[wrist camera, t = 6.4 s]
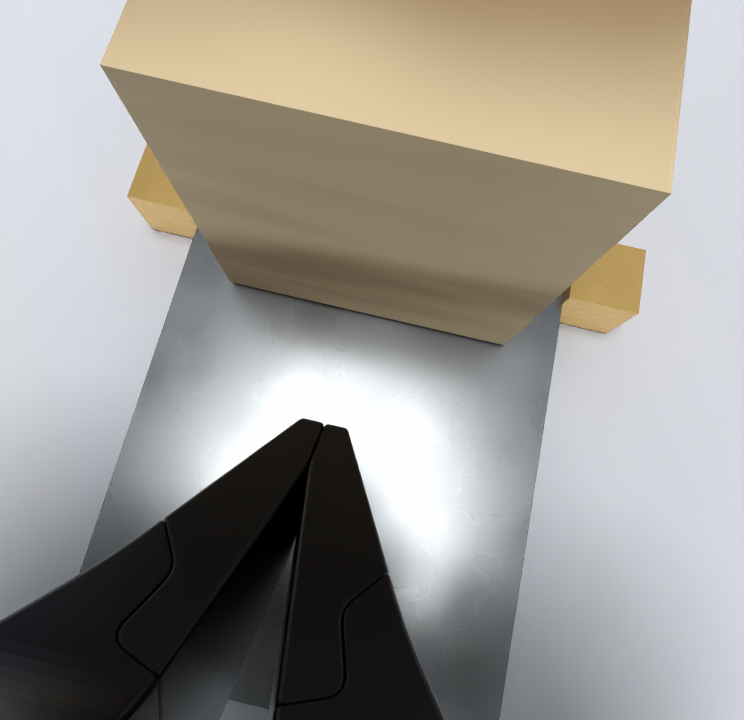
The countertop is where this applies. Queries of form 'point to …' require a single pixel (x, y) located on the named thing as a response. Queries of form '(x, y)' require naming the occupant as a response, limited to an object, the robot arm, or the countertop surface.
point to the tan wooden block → (409, 142)
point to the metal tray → (361, 440)
